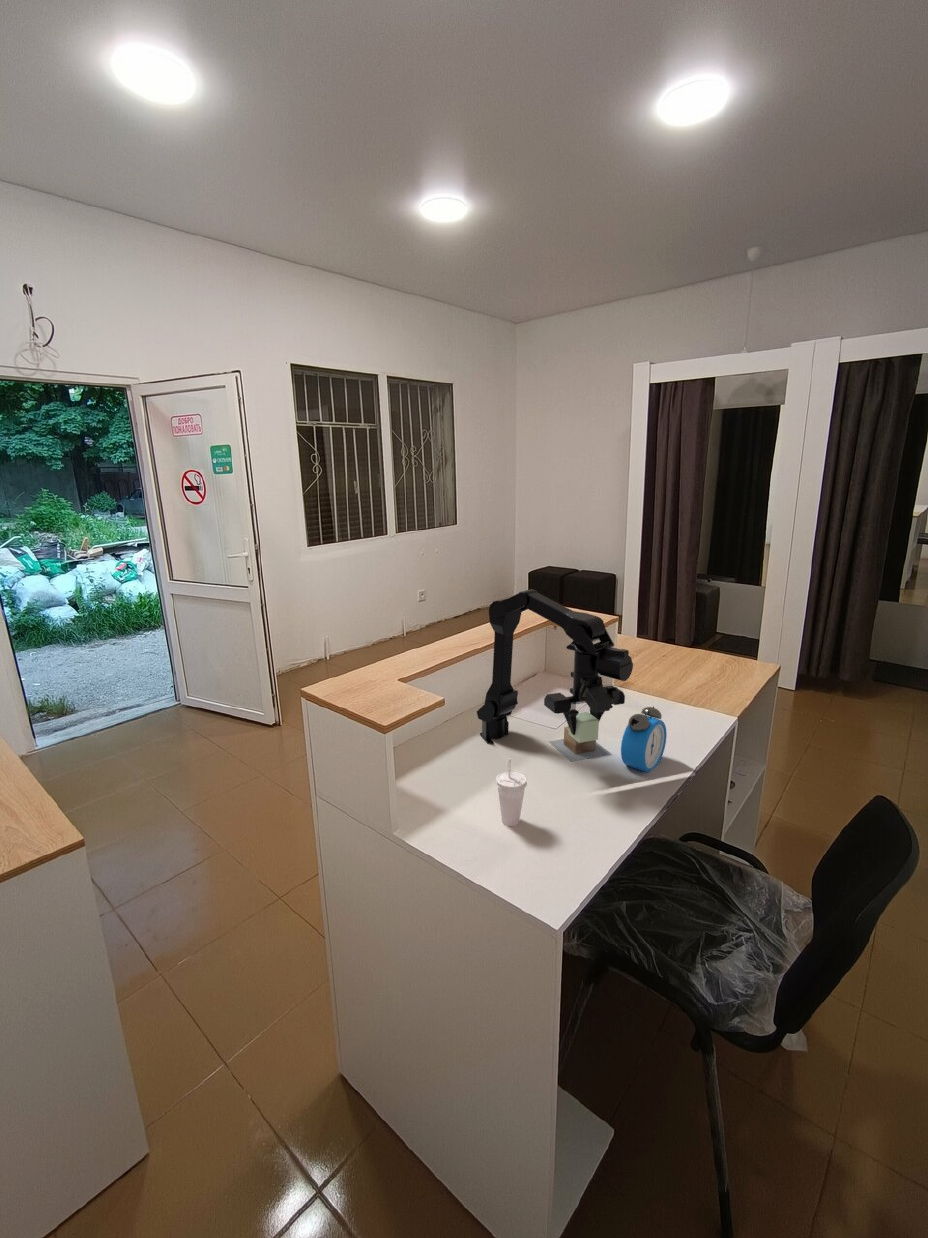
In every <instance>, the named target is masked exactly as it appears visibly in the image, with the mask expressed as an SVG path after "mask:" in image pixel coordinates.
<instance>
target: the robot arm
mask: <svg viewBox="0 0 928 1238" xmlns="http://www.w3.org/2000/svg"><path fill="white" fill-rule="evenodd" d="M527 610H529V611H531V612H533V613H535V614H537V615H538V616H541V617H542V618H544V619H546V620H548V621H549V622H551V623H553V624H555V625H557V626H558V627H560V628H561V629H562V630H563V631H564V633H565V635H566V636H567V637H569V638H570V639H571V640H572V642H570V643H569V644H568V645H566V650H570V651H574V652H573V653H574V655H573V656H574V658H573V671H571V672H570V677H571V678H572V688H571V687H570V688H569V693H570V694H571V695H572V696H566V695H564V694H562V693H561V692H555V693H549V694H546V695H545V696H544V698H543V706H544V707H546V708H547V709H549V710H550V711H551V712H552V713H554V714H558V715H559V714H563V716H564V718H565V721H566V724H567V725H568V726H569V728H570V731H571V733H572V734H573V735H575V732H576V716H577V714H578V713H580V712H579V711H578V710H577V709H576V707H577V705H579V704H585V703H586V705H587V706H588V707H589V713H590V714H591V715H592V716H594V717H595V718H597V719H598V720H599V722H600V721H601V719H602V716H604V714H605V712H608V711H610V710H611V709H613V707H614V706H619V705H624V704H625V702H626V694H625V693H624V692H623V690H621V689H619V688H618V687H616V686H613V685H607V686H606V685H605V686H604V685H603V678H602V677H607V678H611V679H614V680H617V681H621V682H626V681H628V679H629V678H630V677H631V675H632V672H633V667H634V663H633V658H632V657H631V656H630V655H629V654H630V651H629V649H625V648H621V649H620V648H616V647H615V643H614V642H613V640H612V638H611V636H610V634H609V632H608V631H607V629H606V625H605V624H604V622H605V621H604V620H603V619H602V618H601V617H600V616H597V615H594V614H590V613H588V612H580V611H576V610H572V609H570V608H568V607H567V606H565V605H562V604H561V603H558V602H557V601H554V600H552V599H550V598H549V597H547V596H545V595H543V594H541V593H539V592H538V591H537V590H536V589H533V588H531V589H527V590H521V591H519V592H518V593H516V594H513V595H512V596H510V597H507V598H503V599H502V598H501V599H498V600H495V601H492V602H491V603H490V604H489V607H488V617H489V624H490V626H491V628H492V629H493V631H494V637H493V638H494V639H493V641H494V642H493V656H492V657H493V658H492V659H493V660H492V681H491V684H490V686H489V688H488V689H487V691H486V693H485V694H486V695H485V699H484V704H483V705H482V706H481V707H480V708H478V710H477V711H476V715H477V719H478V720H481V732H480V733H479V735H480V737H481V738H482V739H483V740H484V741H485V742H486V743H487V744H488V745H489V744H495V742H494V741H493V740H500V739H502V738H504V737H505V736H509V731H510V730H509V728H510V727H509V726H510V725H509V721H508V717H509V716H511V715H512V712H513V710H514V709H516V706H517V705H518V704H519V702H518V695H519V691H518V690H516V689H514V686H513V685H512V683H511V681H512V680H511V679H512V665H513V662H512V661H513V648H514V647H513V646H514V633H515V631H516V629H517V627H518V626H519V624H520V620H521V617H522V612H524V611H527ZM597 641H598V642H597ZM594 642H596V643H594ZM613 705H614V706H613ZM568 726H567V727H568Z"/></svg>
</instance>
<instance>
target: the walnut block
mask: <svg viewBox="0 0 928 1238" xmlns="http://www.w3.org/2000/svg"><path fill="white" fill-rule="evenodd" d="M563 730H564V731H563V739H564V745H565V746H566V747H567V748H568V749H569V750H571V751H572V752H573V753H574V754H580V753H585V752H591V751H595V749H596V742H597V740H593V741H587V742H582V743H579V742H578V741H576V740H575V739H574V738H573V737H571V736H570V735H569V726H564V728H563Z"/></svg>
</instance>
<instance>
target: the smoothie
mask: <svg viewBox="0 0 928 1238" xmlns="http://www.w3.org/2000/svg"><path fill="white" fill-rule="evenodd" d="M511 763H512V758H511V757H508V758H507V771H505V772H501V773H499V774H498V775H496V777H495V785H496V786H497V794H498V801H499V808H500V816H501V823H502V824H503V825H504V826H508V827H515V826H517V825H518V824H519V823H520V820H521V816H522V815H521V813H522V808H523V803H524V795H525V788H527V785H528V782H527V779H528V778H526V776H525V775H524V774H522V773H520V772H517V771H516V772H515V771H511V770H512V769H511V766H512V764H511Z"/></svg>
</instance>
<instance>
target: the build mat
mask: <svg viewBox="0 0 928 1238" xmlns="http://www.w3.org/2000/svg"><path fill="white" fill-rule="evenodd" d="M548 743H550V745H552V746H553V748H555V749H556V750H557V751H558V752H559V753H560V754H561V755H563V756H564V757H565V758H566V759H567V760H568V761H570V762H576V761H581V760H582V761H583V760H586V759H587V760H589V759H593V758H598V757H604V756H610V755H612V752H610V751H609V750H608V749H606V748H605V747H604V746H602V745H601V744H599V743H598V742H597V741H596V749H595V751H591V752H585V753H580V754H574V753H573V752H572V751H571V750H569V749H568V748H567V747H566V746H565V745H564V738H560V739H555V740H549V741H548Z"/></svg>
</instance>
